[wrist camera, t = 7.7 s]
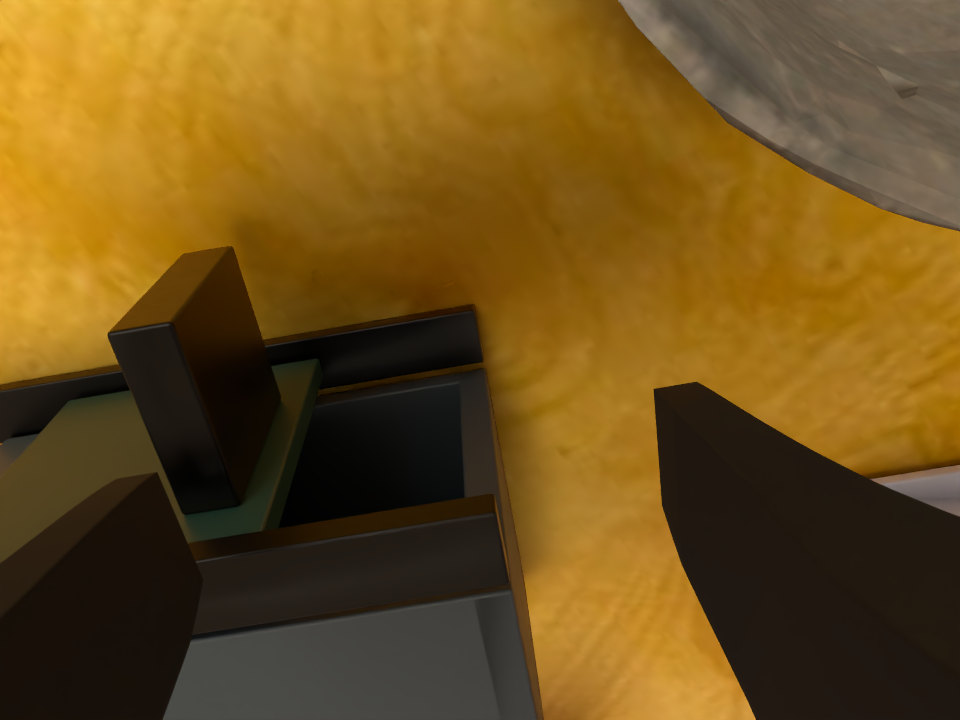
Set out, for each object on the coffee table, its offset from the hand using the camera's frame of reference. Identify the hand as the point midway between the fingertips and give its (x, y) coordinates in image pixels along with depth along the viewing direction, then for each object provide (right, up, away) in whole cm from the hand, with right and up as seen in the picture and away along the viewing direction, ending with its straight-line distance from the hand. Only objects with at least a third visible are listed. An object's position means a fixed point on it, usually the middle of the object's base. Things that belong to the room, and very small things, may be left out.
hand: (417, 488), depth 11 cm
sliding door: (-7, +3, +9) cm, 12 cm away
